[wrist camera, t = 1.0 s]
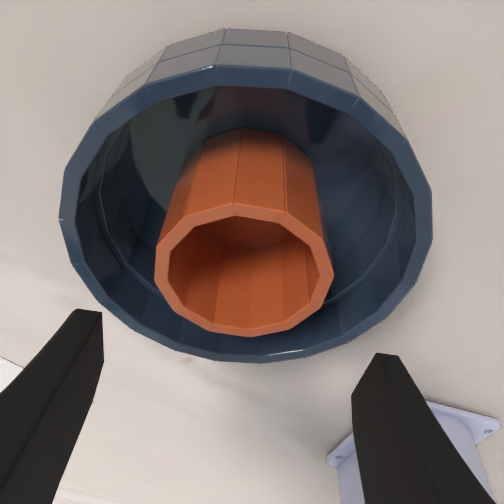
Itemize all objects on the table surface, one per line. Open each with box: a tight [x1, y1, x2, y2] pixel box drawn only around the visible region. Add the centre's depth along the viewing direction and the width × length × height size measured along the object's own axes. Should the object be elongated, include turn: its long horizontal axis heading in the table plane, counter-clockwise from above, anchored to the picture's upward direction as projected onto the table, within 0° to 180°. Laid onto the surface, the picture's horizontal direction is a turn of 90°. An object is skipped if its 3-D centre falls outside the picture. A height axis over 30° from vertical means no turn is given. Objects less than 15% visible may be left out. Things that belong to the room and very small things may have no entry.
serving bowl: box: [59, 29, 433, 364], centre depth 17 cm, size 12×12×4 cm
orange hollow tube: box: [154, 128, 334, 337], centre depth 16 cm, size 6×6×5 cm
